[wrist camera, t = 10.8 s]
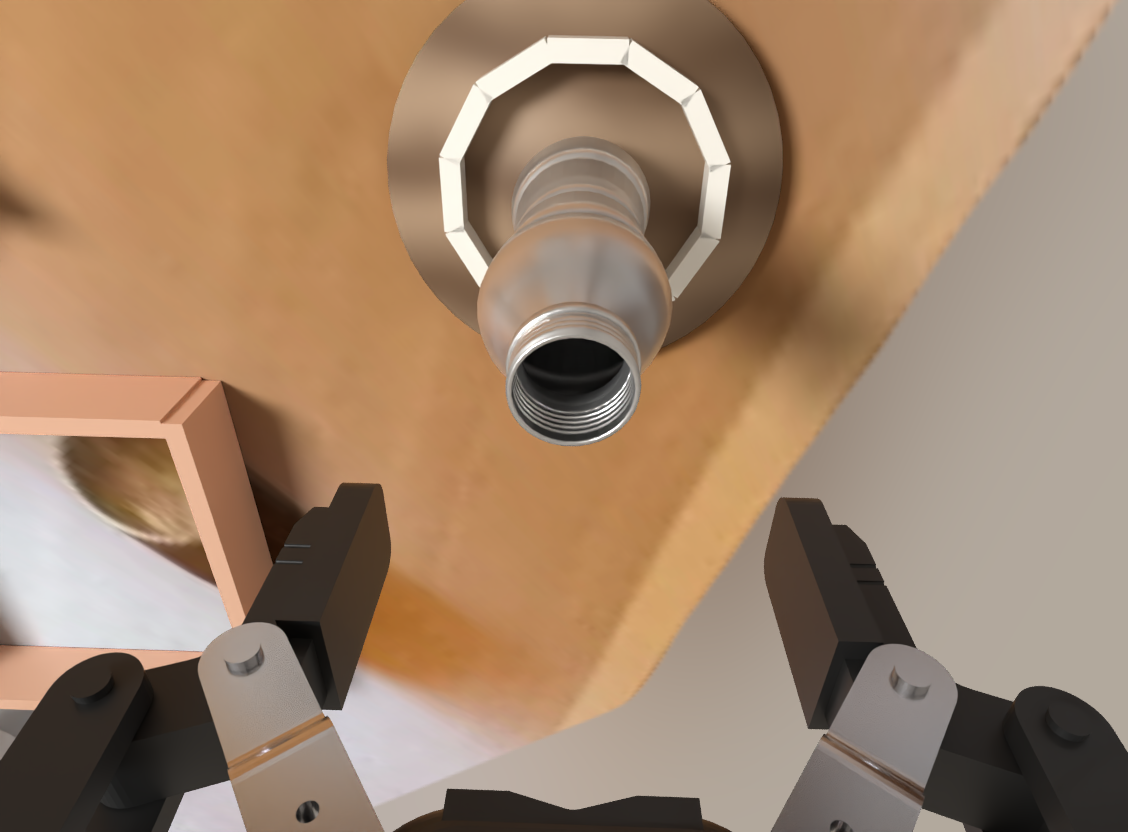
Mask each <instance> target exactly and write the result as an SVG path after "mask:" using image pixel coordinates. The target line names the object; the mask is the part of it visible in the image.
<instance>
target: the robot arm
mask: <svg viewBox="0 0 1128 832" xmlns="http://www.w3.org/2000/svg"><path fill="white" fill-rule="evenodd" d="M390 556H391V540H390V533H389V527H388V521H387V514H386V508H385V501H384V495H383V490H382V487H381V485H380V484H370V483H342V484H341V485H340V486H339V488H338V490H337V492H336V494H335V496H334V498H333V500H332V502H331V504H330V506H329V507H314V508H312V509H311V510H310V511H309V512H308V513H307V514H306V515H304V516H303V517H302V518H301V519H300V520H299V521H298V522H296V523H295V524H294V526H293V528H292V530H291V532H290V534H289V536H288V538H287V539H286V541H285V543H284V548H282V549H281V551H280V553H279V555H278V557H277V558H276V563H275V564H273V566H272V568H271V570H270V572H269V574H268V576H267V577H266V579H265V581H264V583H263V585H262V587H261V589H260V591H259V593H258V595H257V596H256V598H255V600H254V602H253V604H252V606H251V608H250V610H249V612H248V614H247V615H246V617H245V619H244V621H243V623H242V625H240V626H237V627H234V628H232V629H230V630H228V631H226V632H224V633H223V634H221V635H220V636H218V637H217V638H216V639H215V640H213V641H212V642H211V643H210V644H209V645H208V646H207V648H206V649H205V651H204V652H203V654H202V656H199V657H197V658H194V659H190V660H186V661H182V662H178V663H173V664H169V665H165V666H160V667H156V668H152V669H147V670H144V667H143V665H142V664H141V662H140V661H139V659H137V658H136V657H135V656H133V655H131V654H127V653H122V652H112V653H105V654H100V655H97V656H94V657H91V658H89V659H86V660H84V661H82V662H80V663H78V664H76V665H75V666H73V667H72V668H70V669H69V670H67V671H66V672H65V673H63V674H62V675H61V676H60V677H59V678H58V679H57V680H56V681H55V682H54V683H53V684H52V685H51V687H50V688H49V689H48V691H47V692H46V694H45V695H44V697H43V698H42V700H41V701H40V703H39V704H38V706H37V707H36V708H35V710H34V711H33V713H32V714H31V716H30V717H29V719H28V720H27V722H26V723H25V725H24V726H23V728H22V729H21V731H20V732H19V734H18V735H17V737H16V738H15V740H14V741H13V742H12V744H11V745H10V747H9V748H8V750H7V751H6V753H5V754H4V756H3V757H2V759H1V760H0V832H168V830H169V828H170V826H171V823H172V821H173V819H174V816H175V814H176V812H177V809H178V807H179V804H180V802H181V800H182V797H183V795H184V793H185V792H189V791H192V790H196V789H200V788H203V787H207V786H210V785H214V784H218V783H221V782H225V781H228V780H230V781H231V784H232V787H233V791H234V794H235V797H236V800H237V803H238V806H239V809H240V812H241V815H242V819H243V822H244V825H245V828H246V831H247V832H384V830H383V828H382V825H381V823H380V821H379V819H378V817H377V815H376V813H375V811H374V809H373V807H372V804H371V802H370V800H369V798H368V796H367V794H366V792H365V790H364V788H363V786H362V784H361V782H360V779H359V777H358V775H357V773H356V771H355V769H354V767H353V765H352V763H351V761H350V759H349V757H348V754H347V752H346V750H345V748H344V746H343V744H342V742H341V740H340V738H339V736H338V734H337V731H336V729H335V727H334V725H333V724H332V722H331V720H330V718H329V717H328V716H326V717H325V716H324V714H323V712H322V710H342V708H343V705H344V702H345V699H346V696H347V693H348V690H349V687H350V684H351V681H352V678H353V675H354V672H355V669H356V666H357V663H358V660H359V657H360V654H361V651H362V648H363V645H364V642H365V639H366V636H367V633H368V629H369V626H370V623H371V620H372V617H373V614H374V611H375V608H376V605H377V602H378V599H379V596H380V593H381V590H382V587H383V584H384V581H385V578H386V575H387V572H388V568H389V563H390ZM764 574H765V581H766V586H767V589H768V593H769V596H770V599H771V603H772V606H773V609H774V613H775V616H776V620H777V623H778V627H779V630H780V634H781V637H782V641H783V644H784V647H785V651H786V654H787V658H788V661H789V665H790V668H791V672H792V675H793V678H794V682H795V685H796V688H797V692H798V696H799V699H800V702H801V706H802V709H803V713H804V716H805V719H806V723H807V726H808V729H829V731H828V732H827V734H824V735H823V736H822V738H821V739H820V741H819V742H818V744H817V746H816V748H815V750H814V752H813V753H812V755H811V757H810V759H809V761H808V763H807V765H806V767H805V768H804V770H803V772H802V774H801V776H800V778H799V780H798V782H797V783H796V786H795V787H794V789H793V791H792V793H791V795H790V797H789V798H788V800H787V802H786V804H785V806H784V808H783V810H782V812H781V813H780V815H779V817H778V819H777V821H776V823H775V825H774V827H773V828H772V830H771V832H913V829H914V827H915V824H916V821H917V818H918V816H919V813H920V810H921V808H922V809H925V810H928V811H931V812H934V813H936V814H939V815H942V816H945V817H948V818H951V819H954V820H956V821H959V822H962V823H963V825H964V828H965V830H966V832H1128V752H1127V751H1126V749H1125V748H1124V746H1123V744H1122V743H1121V741H1120V740H1119V738H1118V736H1117V735H1116V733H1115V732H1114V730H1113V729H1112V727H1111V726H1110V724H1109V723H1108V722H1107V721H1106V719H1105V718H1104V717H1103V716H1102V715H1101V714H1100V713H1099V712H1098V711H1096V710H1095V709H1094V708H1093V707H1091V706H1090V705H1089V704H1087V703H1086V702H1084V701H1082V700H1081V699H1079V698H1078V697H1076V696H1074V695H1072V694H1070V693H1067V692H1065V691H1062V690H1059V689H1055V688H1052V687H1045V686H1034V687H1029V688H1026V689H1024V690H1023V691H1021V692H1020V693H1019V694H1018V696H1017V697H1016V699H1015V700H1014V702H1012V701H1009V700H1005V699H1002V698H998V697H995V696H992V695H989V694H985V693H982V692H978V691H975V690H972V689H969V688H966V687H963V686H961V685H959V684H957V683H955V682H954V680H953V678H952V676H951V675H950V673H949V672H948V671H947V670H946V668H945V667H944V666H943V665H942V664H940V663H939V662H938V661H937V660H936V659H934V658H933V657H931V656H930V655H928V654H926V653H925V652H923V651H921V650H918V649H917V648H916V646H915V644H914V642H913V640H912V638H911V636H910V634H909V632H908V629H907V627H906V625H905V623H904V621H903V619H902V617H901V615H900V613H899V611H898V609H897V607H896V605H895V603H894V601H893V599H892V597H891V595H890V592H889V590H888V588H887V586H884V580H883V578H882V576H881V574H880V572H879V570H878V568H877V569H876V564H875V562H874V560H873V557H872V555H871V553H870V551H869V549H868V547H867V545H866V543H865V542H864V541H862V540H861V539H860V538H859V537H858V536H857V535H856V534H855V533H854V532H853V531H852V530H851V529H850V528H849V527H848V526H847V525H832V524H831V522H830V519H829V517H828V515H827V512H826V510H825V508H824V505H823V503H822V502H821V500H819V499H814V498H780V499H779V501H778V502H777V506H776V510H775V514H774V518H773V522H772V527H771V531H770V535H769V539H768V544H767V548H766V552H765V558H764ZM393 832H731V831H730V830H728V829H726V828H724V827H722V826H719V825H717V824H715V823H713V822H710V821H707V820H704V819H702V815H701V808H700V800H699V798H682V797H656V796H635V797H630V798H626V799H621V800H617V801H613V802H609V803H604V804H600V805H596V806H591V807H587V808H583V809H578V810H569V809H565V808H562V807H558V806H555V805H552V804H548V803H546V802H542V801H539V800H536V799H533V798H529V797H526V796H523V795H520V794H517V793H513V792H510V791H494V790H467V789H447V793H446V798H445V804H444V809H442V810H438V811H434V812H431V813H428V814H425V815H423V816H420V817H418V818H416V819H414V820H412V821H410V822H408V823H406V824H404V825H402V826H401V827H399V828H398V829H396V830H395V831H393Z"/></svg>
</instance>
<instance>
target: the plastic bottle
mask: <svg viewBox="0 0 1128 832" xmlns="http://www.w3.org/2000/svg"><path fill="white" fill-rule="evenodd" d="M649 212H650V193H649V187H648V184H647V181H646V178H645V175H644V174H643V172H642V170H641V168H640V166H639V165H638V164H637V163H636V161H635V160H634V159H633V158H632V157H631V156H630V155H629V154H628V153H627V152H625V151H624V150H623V149H621V148H620V147H619V146H617V145H615V144H613V143H611V142H609V141H607V140H604V139H601V138H596V137H592V136H577V137H571V138H566V139H563V140H561V141H558V142H556V143H553V144H551V145H549V146H548V147H546V148H545V149H543V150H542V151H540V152H539V153H537V154H536V155H535V156H534V157H533V158H532V159H531V160H530V161H529V162H528V163H527V165H526V166H525V168H524V169H523V171H522V172H521V174H520V175H519V178H518V180H517V182H516V185H515V187H514V192H513V197H512V223H513V228H514V234H513V235H512V236H511V237H510V238H509V239H508V240H507V241H506V243H505V244H504V245H503V246H502V247H501V249H500V250H499V251H498V253H497V254H496V256H495V257H494V258H493V260H492V262H491V264H490V265H489V267H488V269H487V271H486V274H485V276H484V278H483V280H482V283H481V285H480V290H479V295H478V300H477V319H478V323H479V328H480V332H481V336H482V339H483V342H484V344H485V347H486V349H487V351H488V353H489V355H490V357H491V359H492V361H493V362H494V364H495V365H496V366H497V368H498V369H499V370H500V371H501V373H502V374H503V375H504V376H506V377H507V378H506V396H507V401H508V405H509V408H510V410H511V412H512V414H513V416H514V418H515V419H516V421H517V422H518V423H519V424H520V426H521V427H523V428H524V429H525V430H526V431H527V432H528V433H530V434H531V435H533V436H535V437H537V438H538V439H540V440H543V441H546V442H548V443H551V444H556V445H561V446H581V445H589V444H592V443H595V442H599V441H601V440H603V439H605V438H608V437H610V436H612V435H613V434H614V433H616V432H617V431H618V430H620V429H621V428H622V427H623V426H624V425H625V424H626V423H627V422H628V421H629V420H630V418H631V416H632V415H633V413H634V412H635V410H636V407H637V404H638V402H639V397H640V391H641V378H640V375H641V374H642V373H643V372H644V371H645V370H646V369H647V368H648V367H649V366H650V364H651V363H652V361H653V360H654V358H655V356H656V355H657V353H658V352H659V350H660V348H661V346H662V344H663V342H664V339H665V337H666V334H667V331H668V329H669V326H670V321H671V314H672V307H673V306H672V293H671V287H670V284H669V281H668V277H667V274H666V271H665V269H664V267H663V264H662V262H661V261H660V259H659V257H658V256H657V254H656V252H655V250H654V249H653V247H652V246H651V245H650V243H649V242H648V241H647V239H646V238H645V237H644V233H645V230H646V227H647V224H648V219H649Z"/></svg>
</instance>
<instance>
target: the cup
mask: <svg viewBox="0 0 1128 832" xmlns="http://www.w3.org/2000/svg"><path fill="white" fill-rule="evenodd" d="M33 711H34V710H16V709H0V760H1V759H2V757H3V756H4V754H5V753H6V751H7V750H8V748H9V747H10V745H11V744H12V742H13V741H14V740H15V738H16V737H17V735H18V734H19V732H20V731H21V729H22V728H23V726H24V725H25V723H26V722H27V720H28V719H29V717H30V716H31V714H32V713H33Z"/></svg>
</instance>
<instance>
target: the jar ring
mask: <svg viewBox="0 0 1128 832" xmlns="http://www.w3.org/2000/svg"><path fill="white" fill-rule="evenodd" d="M551 63H571V64H617V65H625V66H626V67H628V68H629V69H631V70H632V71H633V72H635V73H636V74H638V75H639V76H641V77H642V78H644V79H645V80H647V81H648V82H649V83H651V84H652V85H654V86H655V87H657V88H658V89H660V90H661V91H662V92H664V93H665V94H667V95H668V96H670V97H671V98H673V99H674V100H676V101H677V102H678V103H680V105H681V107H682V109H683V112H684V114H685V116H686V119H687V121H688V123H689V126H690V128H691V130H692V133H693V135H694V137H695V140H696V142H697V144H698V147H699V149H700V151H701V154H702V156H703V158H704V161H705V165H704V174H703V182H702V190H701V199H700V207H699V215H698V223H697V227H696V228H695V229H694V231H693V232H692V234H691V235H690V236H689V238H688V239H687V241H686V242H685V243H684V245H683V246H682V248H681V249H680V250H679V252H678V253H677V255H676V256H675V257H674V259H673V260H672V262H671V263H670V264H669V266H668V267H667V269H666V270H665V271H666V274H667V277H668V281H669V284H670V287H671V293H672V301H674V300H675V297H676V298H678V297H679V295H680V294H681V293H682V291H683V290H684V289H685V287H686V286H687V285H688V283H689V282H690V281H691V279H692V278H693V277H694V275H695V274H696V273H697V271H698V270H699V269H700V267H701V266H702V264H703V263H704V262H705V260H706V259H707V258H708V256H709V255H710V254H711V252H712V251H713V250H714V248H715V247H716V246H717V244H718V243H719V240H718V239H721V233H722V225H723V218H724V211H725V204H726V197H727V190H728V183H729V175H730V168H731V164H730V159H729V157H728V154H727V152H726V150H725V147H724V145H723V142H722V140H721V137H720V135H719V133H718V130H717V128H716V125H715V123H714V121H713V118H712V116H711V113H710V111H709V108H708V106H707V104H706V101H705V99H704V96H703V94H702V91H701V89H700V88H699V87H698V86H697V85H696V84H695V83H694V82H693V81H691V80H690V79H689V78H687V77H686V76H684V75H683V74H681V73H680V72H679V71H677V70H676V69H674V68H673V67H672V66H670V65H669V64H667V63H666V62H664V61H663V60H662V59H660V58H659V57H657V56H656V55H654V54H653V53H652V52H650V51H649V50H647V49H646V48H645V47H643V46H642V45H640V44H639V43H637V42H636V41H635V40H633V39H632V38H630V40H629V38H628V37H616V36H569V35H549V36H548V37H546V36H545V37H543V38H542V39H540V40H539V41H537V42H535V43H534V44H532V45H531V46H529V47H528V48H526V49H524V50H523V51H521V52H520V53H518V54H517V55H515V56H513V57H512V58H510V59H509V60H507V61H506V62H504V63H502V64H501V65H499V66H498V67H496V68H494V69H493V70H491V71H490V72H488V73H487V74H485V75H483V76H482V77H480V78H479V79H478V80H477V81H476V82H475V83H474V84H473V86H472V88H471V90H470V92H469V95H468V97H467V99H466V101H465V103H464V105H463V107H462V109H461V111H460V113H459V115H458V117H457V119H456V122H455V124H454V126H453V128H452V130H451V132H450V134H449V136H448V138H447V140H446V142H445V144H444V146H443V149H442V151H441V153H440V157H439V168H440V181H441V194H442V207H443V220H444V232H447V233H446V234H445V235H446V236H447V238H448V240H449V241H450V243H451V244H452V246H453V247H454V249H455V250H456V252H457V253H458V255H459V256H460V258H461V260H462V261H463V263H464V264H465V266H466V267H467V269H468V270H469V272H470V273H471V275H472V276H473V278H474V279H475V281H476V283H477V284H478V286H479V287H480V285H481V283H482V280H483V278H484V276H485V274H486V271H487V269H488V267H489V265H490V264H491V262H492V260H493V259H492V257H491V256H490V254H489V253H488V251H487V249H486V248H485V246H484V245H483V243H482V241H481V240H480V238H479V237H478V235H477V233H476V232H475V230H474V229H473V227H472V225H471V224H470V222H469V221H468V211H467V193H466V176H465V158H464V156H465V154H466V152H467V150H468V148H469V146H470V144H471V142H472V140H473V138H474V136H475V134H476V132H477V130H478V128H479V126H480V124H481V122H482V120H483V118H484V116H485V114H486V112H487V110H488V108H489V106H490V104H491V102H492V100H493V99H494V98H496V97H498V96H499V95H501V94H503V93H504V92H506V91H507V90H509V89H511V88H512V87H514V86H515V85H517V84H519V83H520V82H522V81H523V80H525V79H527V78H528V77H530V76H532V75H533V74H535V73H536V72H538V71H540V70H541V69H543V68H544V67H546V66H548V65H549V64H551ZM674 296H675V297H674Z"/></svg>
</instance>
